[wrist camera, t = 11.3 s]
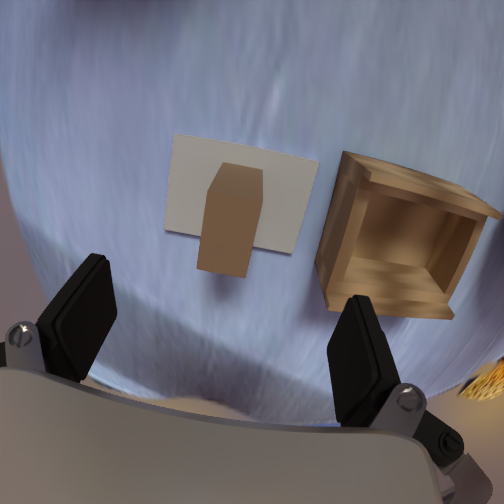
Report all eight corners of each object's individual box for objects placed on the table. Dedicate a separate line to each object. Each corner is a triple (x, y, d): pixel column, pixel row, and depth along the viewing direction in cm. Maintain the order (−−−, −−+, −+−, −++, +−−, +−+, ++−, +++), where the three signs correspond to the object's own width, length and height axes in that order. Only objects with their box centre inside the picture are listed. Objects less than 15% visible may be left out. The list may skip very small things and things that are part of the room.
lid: (317, 160, 22) (342, 191, 15) (291, 249, 26) (301, 307, 19) (177, 133, 21) (139, 152, 15) (166, 225, 25) (135, 275, 19)
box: (459, 185, 22) (502, 214, 16) (423, 277, 27) (452, 319, 21) (343, 150, 21) (371, 172, 16) (314, 261, 26) (327, 310, 21)
